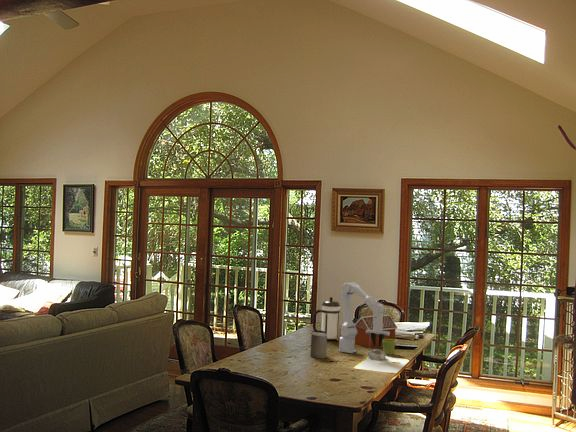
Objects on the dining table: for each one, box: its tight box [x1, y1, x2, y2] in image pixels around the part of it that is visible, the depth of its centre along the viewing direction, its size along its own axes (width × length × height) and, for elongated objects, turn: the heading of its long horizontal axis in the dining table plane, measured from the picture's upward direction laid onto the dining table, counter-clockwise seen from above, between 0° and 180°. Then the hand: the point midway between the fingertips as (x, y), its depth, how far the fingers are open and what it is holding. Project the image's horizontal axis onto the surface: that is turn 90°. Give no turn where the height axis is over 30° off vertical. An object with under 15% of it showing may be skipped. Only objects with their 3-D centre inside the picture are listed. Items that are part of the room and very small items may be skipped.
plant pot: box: [382, 339, 397, 356], centre depth 381 cm, size 9×9×9 cm
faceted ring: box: [367, 350, 386, 361], centre depth 368 cm, size 10×10×4 cm
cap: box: [371, 348, 383, 354], centre depth 368 cm, size 6×5×4 cm
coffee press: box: [312, 296, 342, 342], centre depth 421 cm, size 17×16×30 cm
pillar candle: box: [310, 332, 328, 359], centre depth 367 cm, size 10×10×15 cm
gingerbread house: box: [354, 314, 398, 349], centre depth 411 cm, size 18×26×20 cm
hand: (377, 346), depth 368 cm, fingers open, 3 cm apart
